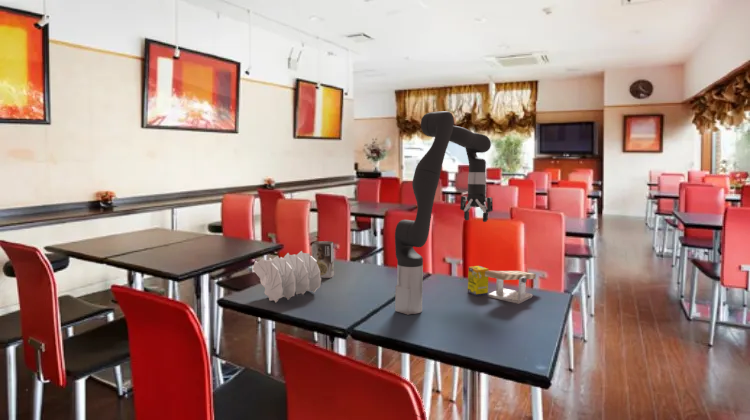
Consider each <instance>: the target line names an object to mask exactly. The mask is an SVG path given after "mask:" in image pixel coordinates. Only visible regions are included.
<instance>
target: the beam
mask: <svg viewBox="0 0 750 420" xmlns="http://www.w3.org/2000/svg"><path fill="white" fill-rule="evenodd" d="M485 276H486V277H488V278H490V279H491V278H492V279H496V280H497V279H501V280H503V281H510V280H511V281H515V280H518V281H519V278H520V277H523V276H525V277H526V278H527V280H535V279H536V276H537V274H536V273H533V272H526V271H521V270H489V271H485Z"/></svg>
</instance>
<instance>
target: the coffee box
mask: <svg viewBox="0 0 750 420" xmlns="http://www.w3.org/2000/svg"><path fill="white" fill-rule="evenodd" d="M311 248H312V249H311V251H312V254H311V256H312V257H313V258H314V259H315V260H316V261H317V262H316V263H317V264H318V267H319V269H320V278H321V279H322V278H325V279H326V278H329V279H332V278H333V277H334V276H335V272H334V271H335V269H334V268H335V267H334V265H335V263H334V262H335V261H334V260H335V258H334V256H335V255H334V241H318V240H317V241H314V242H313V243H312V244H311Z"/></svg>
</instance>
